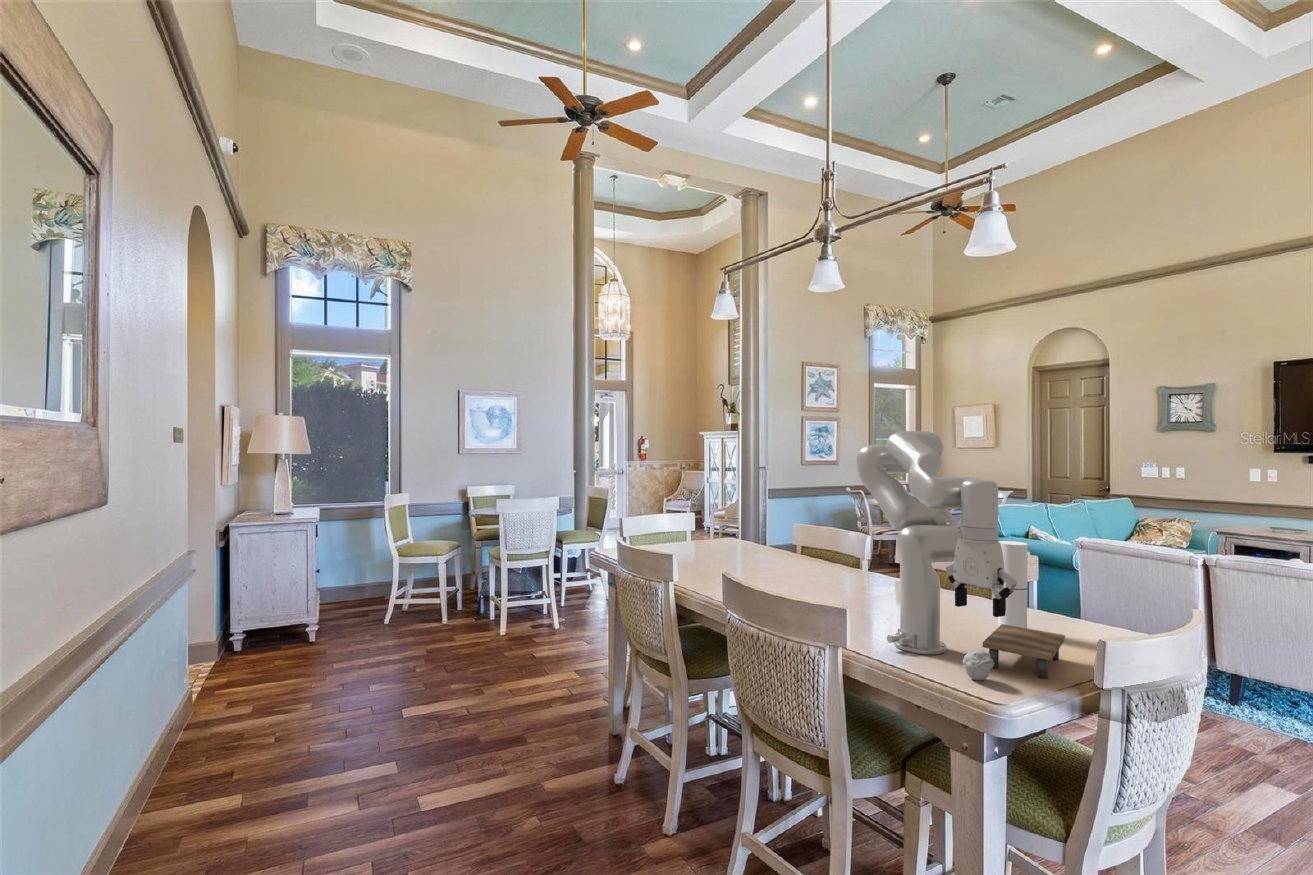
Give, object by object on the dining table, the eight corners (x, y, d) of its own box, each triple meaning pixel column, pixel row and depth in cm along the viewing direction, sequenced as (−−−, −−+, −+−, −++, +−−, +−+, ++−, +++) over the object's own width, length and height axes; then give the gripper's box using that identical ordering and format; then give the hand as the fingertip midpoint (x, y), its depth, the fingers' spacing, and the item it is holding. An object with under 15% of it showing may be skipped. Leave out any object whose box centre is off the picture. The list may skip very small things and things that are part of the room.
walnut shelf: (1051, 682, 142) (1051, 655, 142) (982, 667, 151) (982, 642, 151) (1064, 659, 157) (1064, 635, 157) (1001, 647, 166) (1001, 624, 166)
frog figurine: (977, 687, 139) (978, 655, 139) (955, 675, 145) (955, 645, 145) (1001, 684, 140) (1001, 653, 140) (978, 673, 147) (978, 643, 147)
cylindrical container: (1025, 636, 175) (1025, 546, 175) (996, 631, 180) (996, 543, 180) (1028, 630, 181) (1029, 542, 181) (1000, 625, 185) (1001, 540, 185)
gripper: (935, 530, 149) (935, 604, 149) (1003, 540, 133) (1003, 622, 133) (958, 529, 152) (958, 600, 152) (1026, 538, 137) (1027, 618, 136)
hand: (979, 610), depth 143 cm, fingers open, 9 cm apart
